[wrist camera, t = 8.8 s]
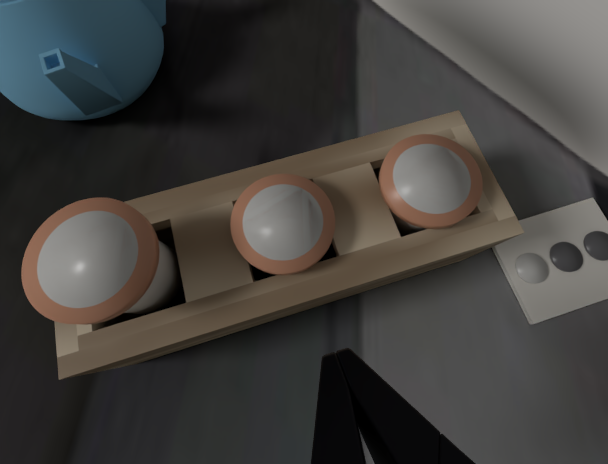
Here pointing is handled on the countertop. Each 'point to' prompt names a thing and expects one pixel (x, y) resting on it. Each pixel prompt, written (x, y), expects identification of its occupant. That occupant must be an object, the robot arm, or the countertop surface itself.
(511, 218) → the button box
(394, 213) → the button
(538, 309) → the pattern card
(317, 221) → the middle button
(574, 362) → the countertop surface
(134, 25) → the teapot
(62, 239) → the button
